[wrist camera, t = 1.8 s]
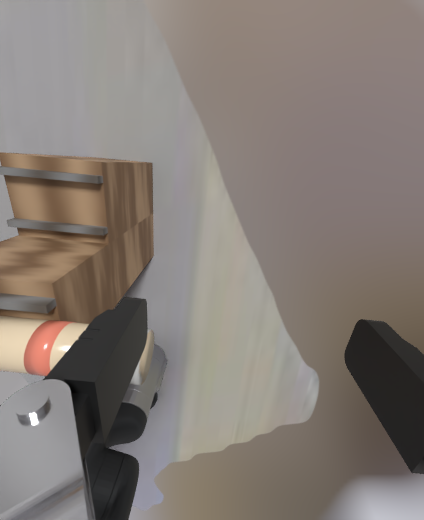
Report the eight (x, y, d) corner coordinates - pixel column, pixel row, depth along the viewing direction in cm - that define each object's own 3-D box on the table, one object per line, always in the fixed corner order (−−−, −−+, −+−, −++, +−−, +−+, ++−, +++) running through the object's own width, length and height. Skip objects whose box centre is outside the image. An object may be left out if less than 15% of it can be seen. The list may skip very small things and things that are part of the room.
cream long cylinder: (153, 319, 21) (137, 356, 17) (154, 355, 23) (139, 398, 19) (-60, 298, 21) (-128, 330, 17) (-44, 336, 23) (-102, 374, 19)
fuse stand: (152, 162, 46) (12, 160, 15) (153, 255, 54) (62, 377, 23) (92, 157, 46) (-166, 143, 15) (102, 250, 54) (-57, 365, 23)
